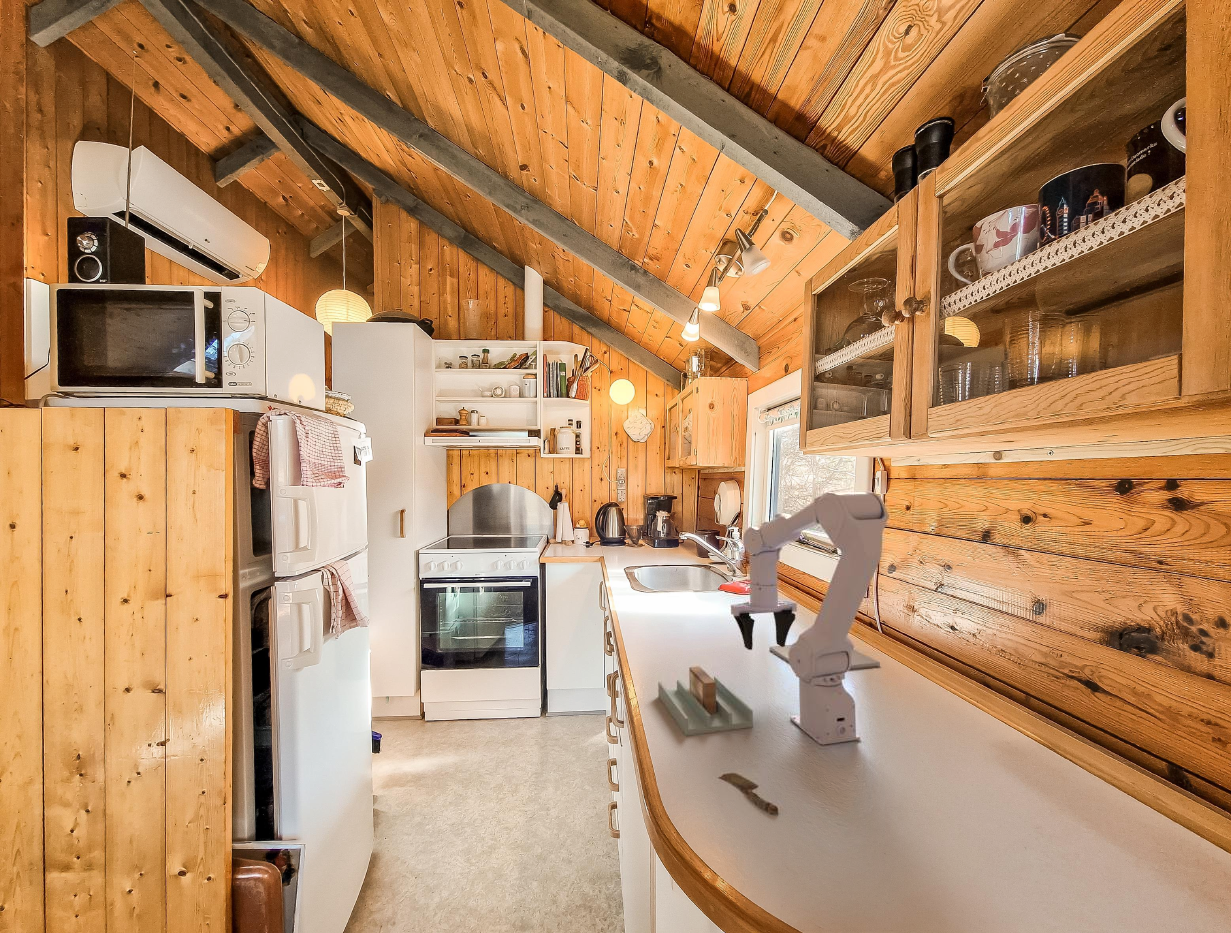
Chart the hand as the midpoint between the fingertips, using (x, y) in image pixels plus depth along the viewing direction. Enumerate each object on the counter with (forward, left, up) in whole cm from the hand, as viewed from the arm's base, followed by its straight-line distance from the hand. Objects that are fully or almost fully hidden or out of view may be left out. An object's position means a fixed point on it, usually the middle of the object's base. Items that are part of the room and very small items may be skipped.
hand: (764, 646), depth 103 cm
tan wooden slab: (-5, +16, -8) cm, 19 cm away
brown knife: (-29, +20, -10) cm, 37 cm away
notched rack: (-5, +17, -9) cm, 20 cm away
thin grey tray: (+14, -24, -10) cm, 30 cm away
